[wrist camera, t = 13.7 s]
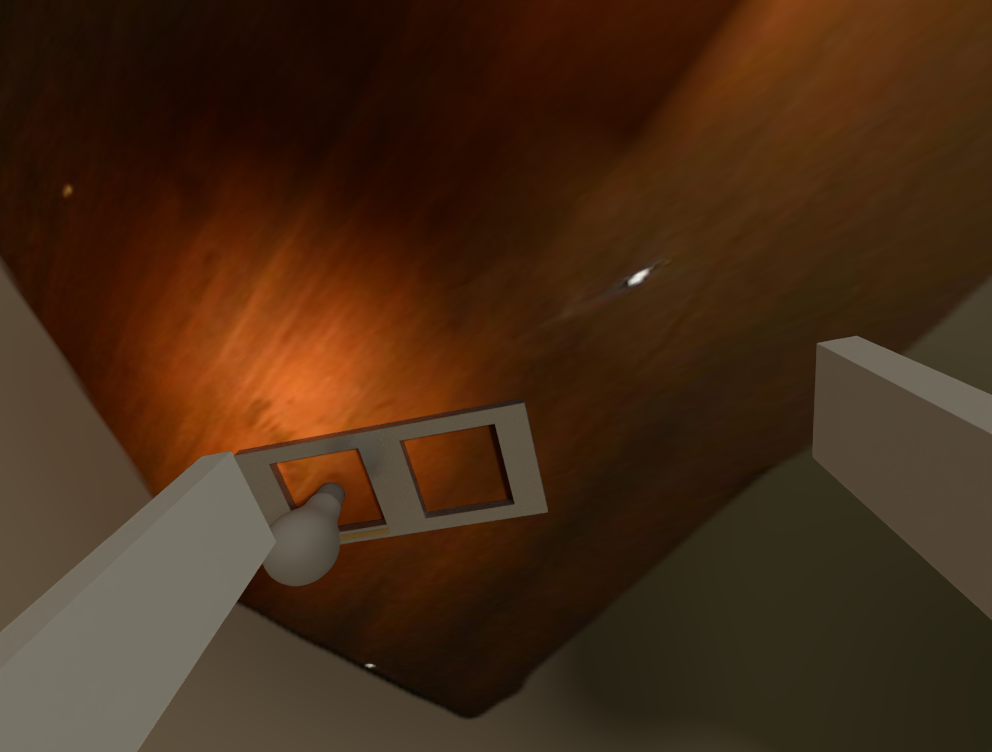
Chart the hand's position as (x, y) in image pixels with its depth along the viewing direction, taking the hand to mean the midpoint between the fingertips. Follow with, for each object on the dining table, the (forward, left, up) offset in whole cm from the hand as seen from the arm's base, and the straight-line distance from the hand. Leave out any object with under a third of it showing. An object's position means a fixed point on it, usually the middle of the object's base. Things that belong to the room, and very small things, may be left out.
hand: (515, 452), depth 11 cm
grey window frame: (+18, -16, -29) cm, 37 cm away
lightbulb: (+18, -22, -29) cm, 40 cm away
